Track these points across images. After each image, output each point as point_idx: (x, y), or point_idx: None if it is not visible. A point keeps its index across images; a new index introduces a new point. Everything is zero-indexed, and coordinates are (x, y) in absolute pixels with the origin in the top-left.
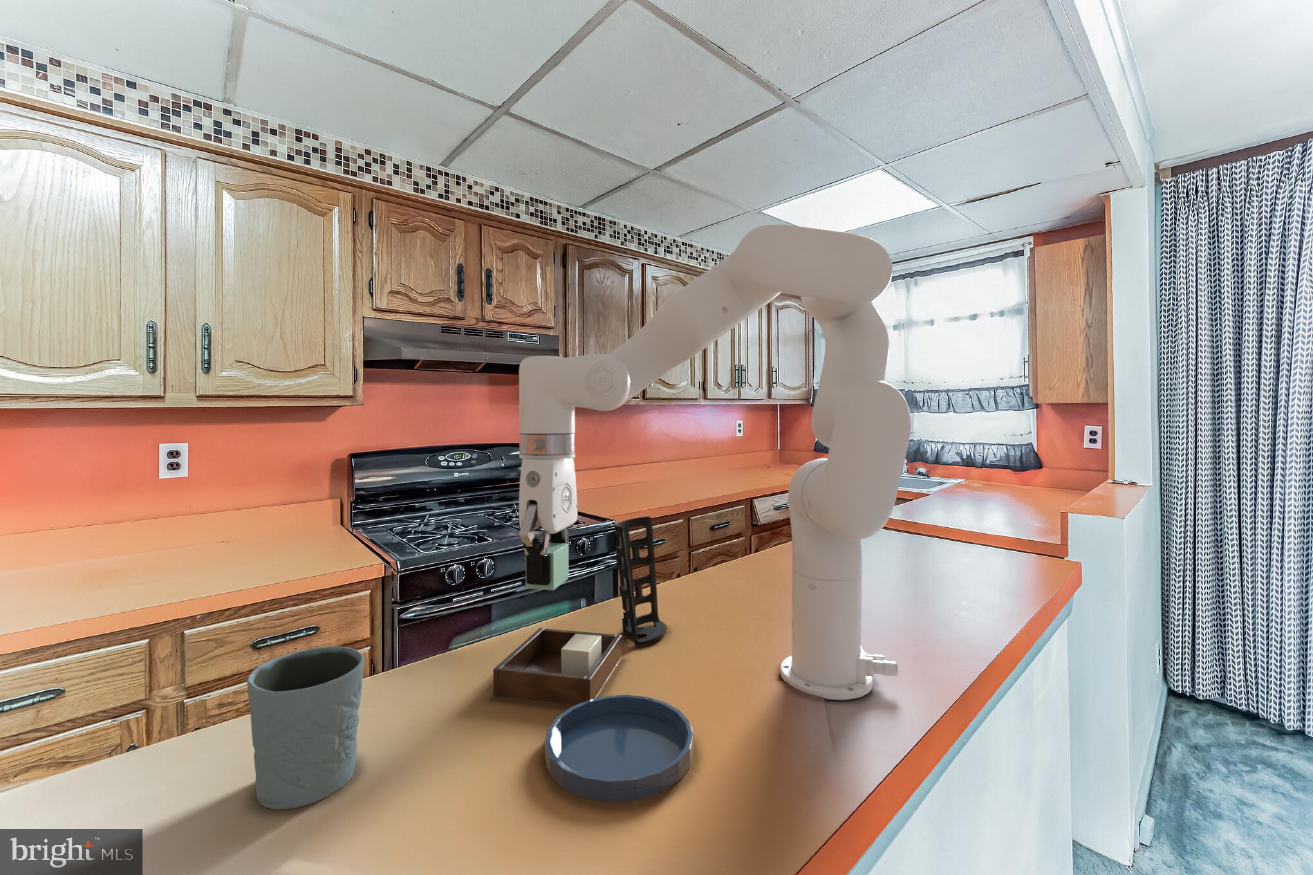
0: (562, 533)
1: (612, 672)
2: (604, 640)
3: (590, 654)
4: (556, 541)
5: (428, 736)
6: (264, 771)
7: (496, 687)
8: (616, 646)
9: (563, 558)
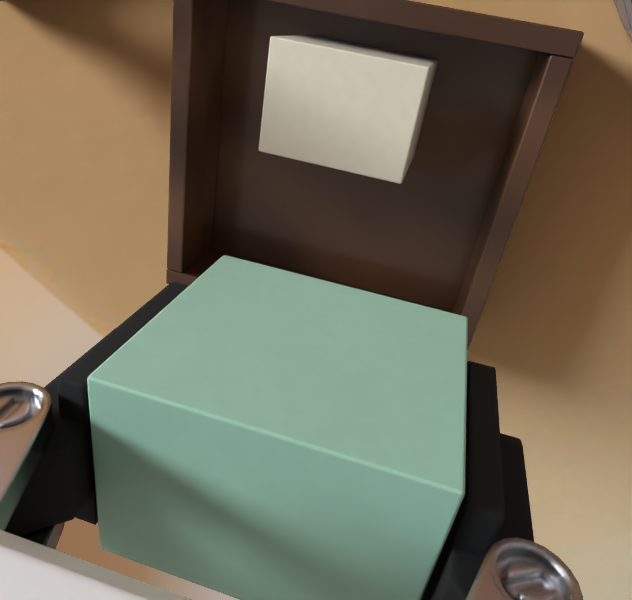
0: (16, 492)
1: None
2: (199, 38)
3: (409, 61)
4: (76, 474)
5: (621, 421)
6: None
7: None
8: None
9: (254, 355)
